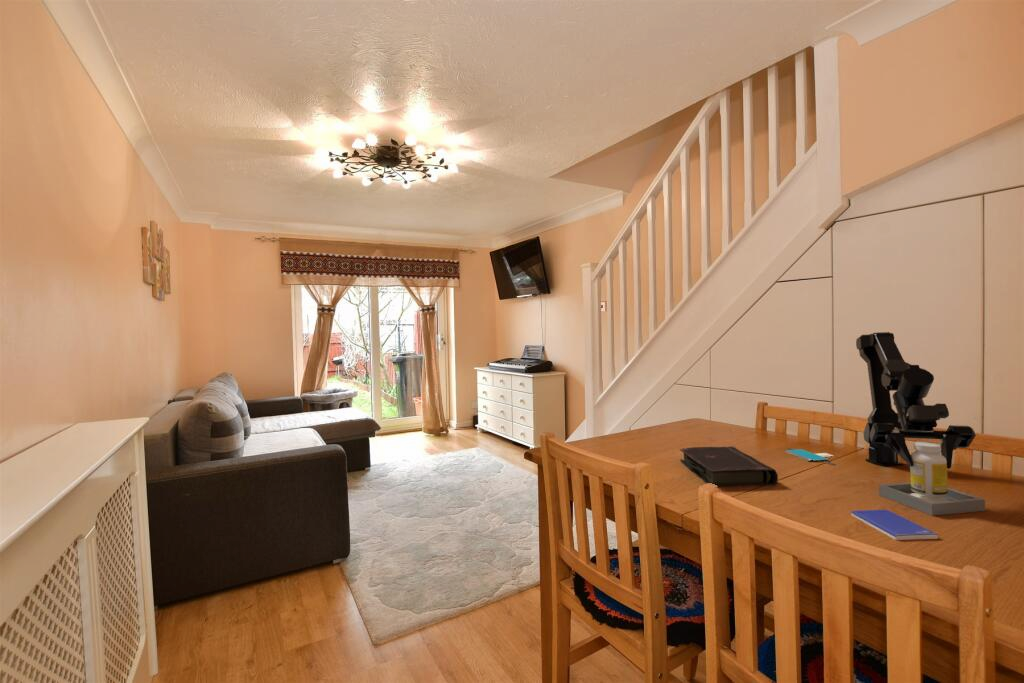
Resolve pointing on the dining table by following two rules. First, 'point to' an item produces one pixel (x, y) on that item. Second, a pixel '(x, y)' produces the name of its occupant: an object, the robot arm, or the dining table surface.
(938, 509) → the holder tray
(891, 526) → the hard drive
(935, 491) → the pill bottle
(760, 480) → the diary
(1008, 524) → the dining table surface
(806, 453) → the teal flat slab
